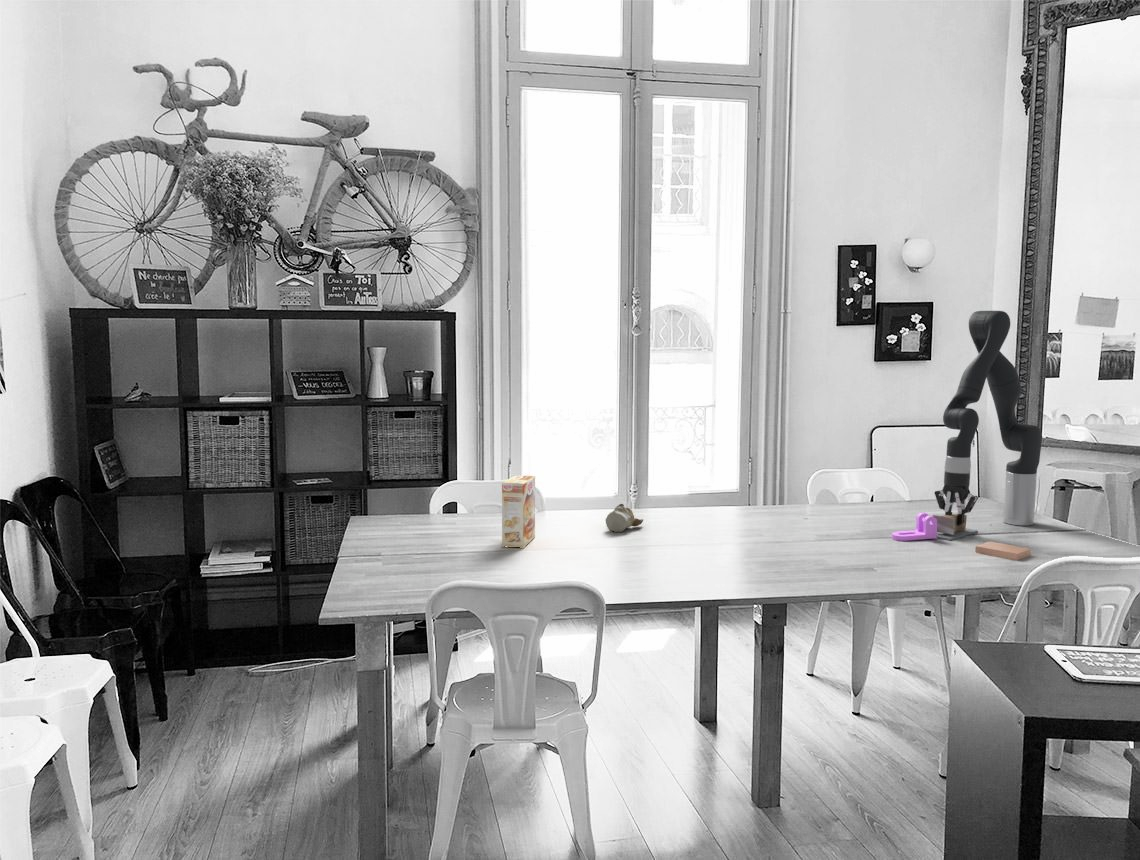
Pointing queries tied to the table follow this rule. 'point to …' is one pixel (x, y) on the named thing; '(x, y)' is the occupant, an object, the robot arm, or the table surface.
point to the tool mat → (955, 534)
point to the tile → (1003, 550)
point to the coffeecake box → (518, 511)
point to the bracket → (919, 529)
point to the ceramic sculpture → (621, 519)
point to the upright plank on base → (949, 524)
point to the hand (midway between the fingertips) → (954, 524)
